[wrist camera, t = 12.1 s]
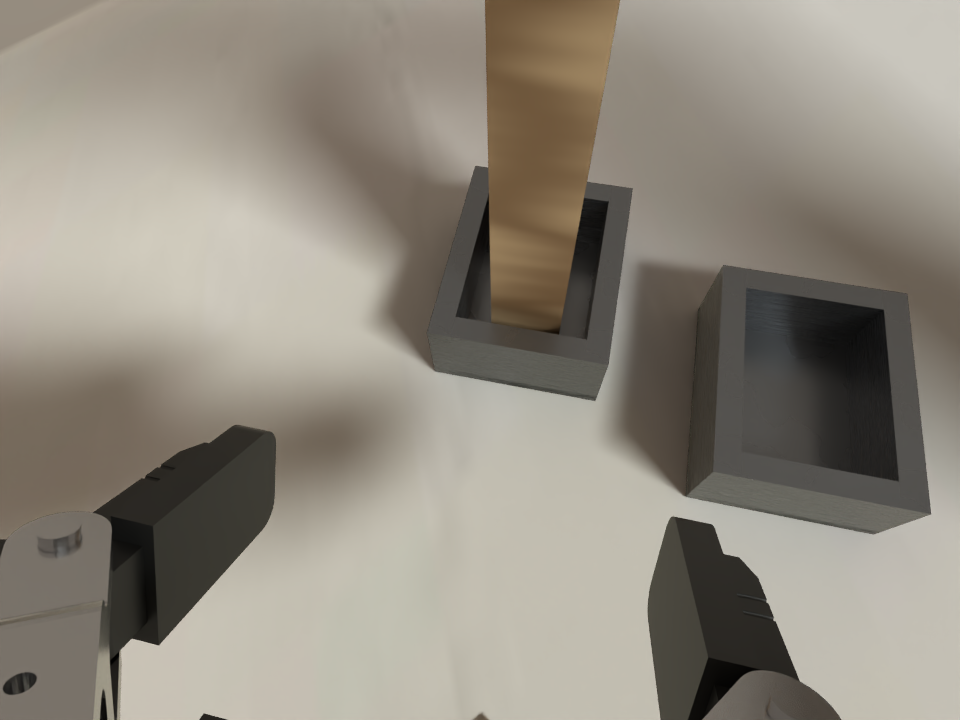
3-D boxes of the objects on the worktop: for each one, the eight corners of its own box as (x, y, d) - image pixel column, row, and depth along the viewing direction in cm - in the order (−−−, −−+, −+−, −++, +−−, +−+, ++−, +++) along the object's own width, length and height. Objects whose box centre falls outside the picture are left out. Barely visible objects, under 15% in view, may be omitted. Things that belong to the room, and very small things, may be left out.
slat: (569, 261, 25) (641, -148, 12) (556, 346, 23) (625, -29, 11) (509, 252, 25) (520, -156, 13) (491, 336, 23) (483, -42, 11)
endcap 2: (860, 336, 23) (907, 293, 21) (873, 534, 20) (931, 514, 18) (698, 309, 24) (723, 265, 22) (685, 496, 21) (713, 471, 18)
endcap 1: (618, 238, 26) (632, 188, 23) (595, 400, 23) (608, 365, 20) (477, 216, 27) (475, 165, 24) (435, 371, 23) (426, 332, 21)
